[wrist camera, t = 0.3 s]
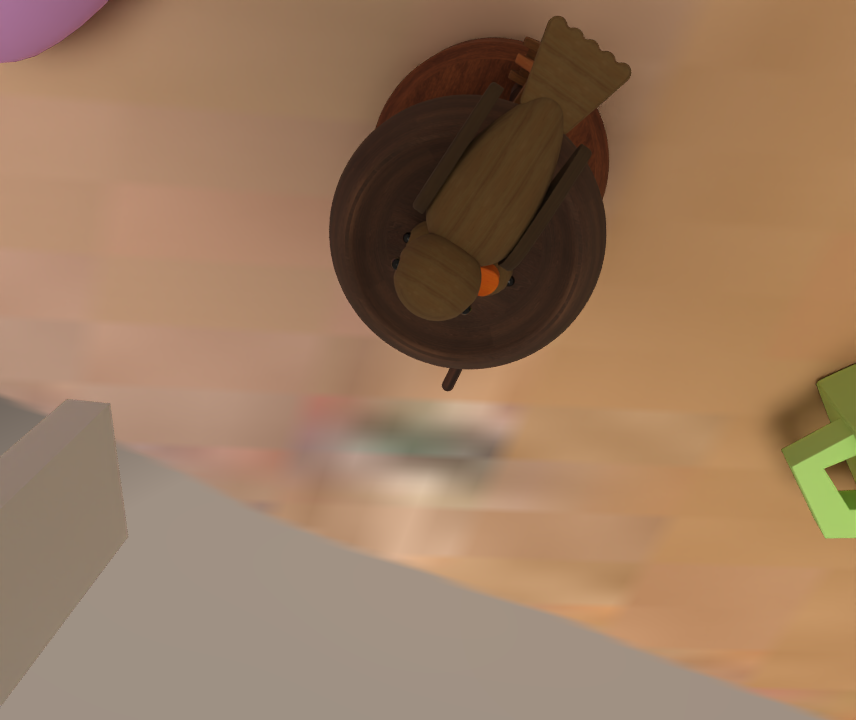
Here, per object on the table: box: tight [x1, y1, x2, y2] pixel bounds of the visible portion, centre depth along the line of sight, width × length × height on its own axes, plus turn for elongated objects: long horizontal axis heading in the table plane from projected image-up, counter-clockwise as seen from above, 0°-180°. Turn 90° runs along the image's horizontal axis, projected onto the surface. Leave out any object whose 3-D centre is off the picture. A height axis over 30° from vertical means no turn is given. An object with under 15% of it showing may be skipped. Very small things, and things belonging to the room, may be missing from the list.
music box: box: [329, 16, 631, 391], centre depth 30 cm, size 15×11×20 cm
